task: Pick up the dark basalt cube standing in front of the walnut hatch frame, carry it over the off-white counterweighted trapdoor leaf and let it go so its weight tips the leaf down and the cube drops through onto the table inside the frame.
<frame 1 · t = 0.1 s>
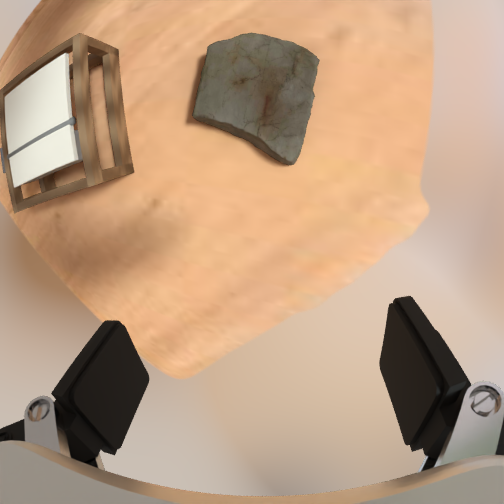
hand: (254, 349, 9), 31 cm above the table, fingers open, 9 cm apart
walnut hatch frame: (78, 125, 35), on the table
hatch leaf: (43, 122, 27), point 9 cm above the table, hinge at 0.0°
marble piece: (255, 96, 33), on the table
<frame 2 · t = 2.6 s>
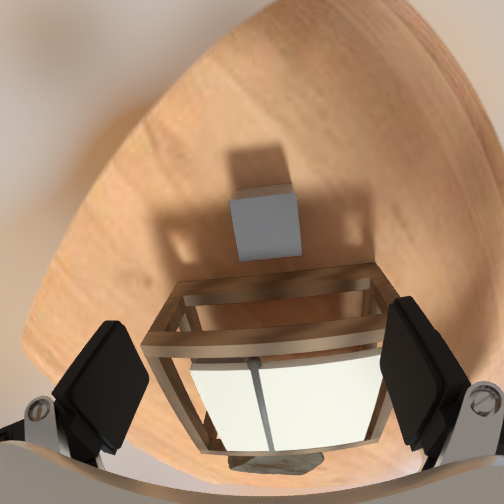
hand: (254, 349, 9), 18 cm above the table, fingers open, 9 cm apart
basalt block: (267, 212, 26), on the table
walnut hatch frame: (283, 342, 31), on the table
hatch leaf: (292, 398, 23), point 9 cm above the table, hinge at 0.0°
marble piece: (277, 447, 43), on the table
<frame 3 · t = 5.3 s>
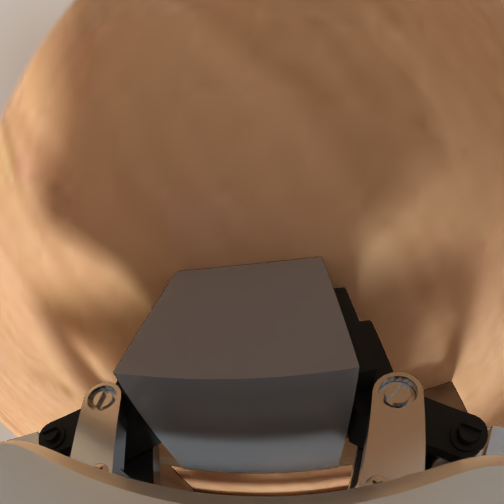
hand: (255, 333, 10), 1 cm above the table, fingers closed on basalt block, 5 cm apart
basalt block: (256, 324, 10), on the table, touching gripper
walnut hatch frame: (283, 473, 16), on the table
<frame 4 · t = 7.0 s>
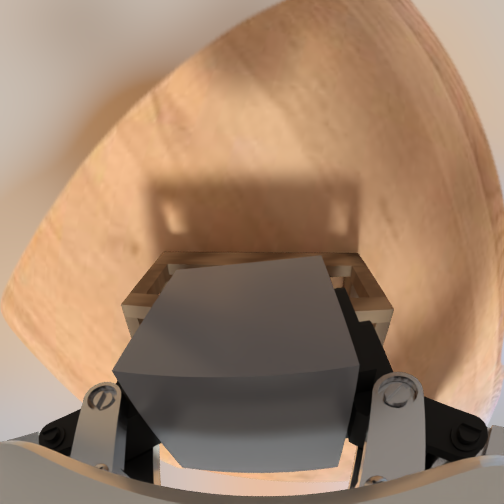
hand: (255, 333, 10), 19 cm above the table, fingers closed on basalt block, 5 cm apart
basalt block: (256, 323, 10), point 18 cm above the table, touching gripper
walnut hatch frame: (260, 323, 33), on the table
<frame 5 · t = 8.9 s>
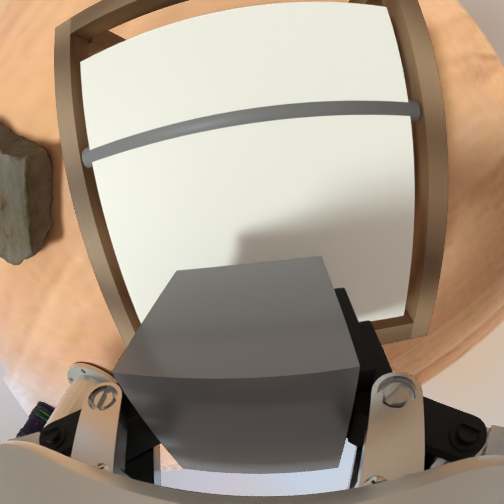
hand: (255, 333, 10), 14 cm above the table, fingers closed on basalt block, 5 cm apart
basalt block: (256, 323, 10), point 13 cm above the table, touching gripper
storage jar: (53, 414, 45), on the table
walnut hatch frame: (259, 150, 20), on the table
hatch leaf: (253, 172, 13), point 9 cm above the table, hinge at 0.0°
marble piece: (18, 186, 23), on the table
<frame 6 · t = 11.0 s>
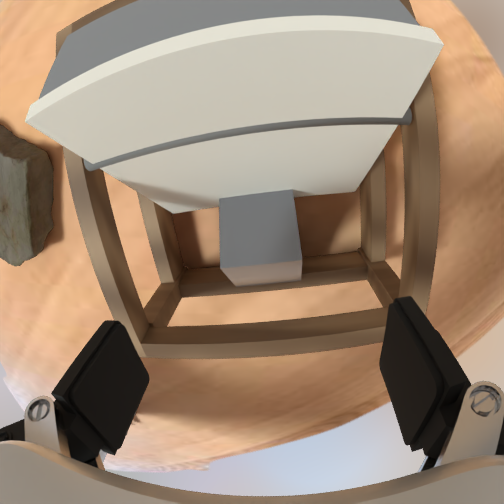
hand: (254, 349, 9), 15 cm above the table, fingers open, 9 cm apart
basalt block: (260, 211, 21), point 2 cm above the table, tilted 47°, touching hatch leaf
walnut hatch frame: (256, 153, 21), on the table
hatch leaf: (243, 118, 13), point 7 cm above the table, hinge at -60.7°, touching basalt block
marble piece: (18, 188, 24), on the table
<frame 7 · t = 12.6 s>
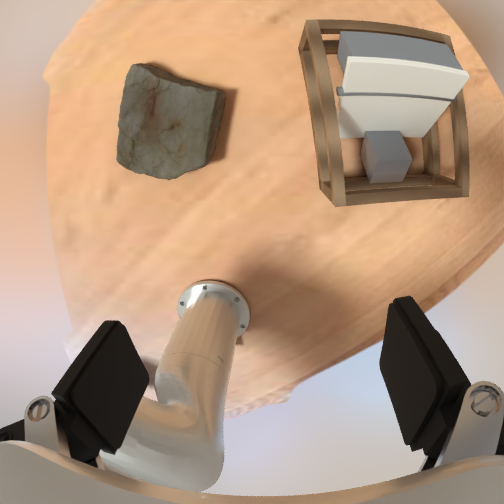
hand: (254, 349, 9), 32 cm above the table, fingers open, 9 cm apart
basalt block: (379, 142, 33), point 2 cm above the table, tilted 47°, touching hatch leaf
walnut hatch frame: (373, 113, 33), on the table
hatch leaf: (390, 91, 25), point 7 cm above the table, hinge at -60.7°, touching basalt block
marble piece: (172, 119, 36), on the table
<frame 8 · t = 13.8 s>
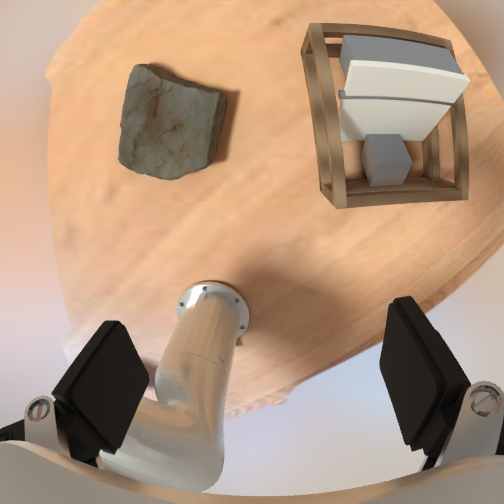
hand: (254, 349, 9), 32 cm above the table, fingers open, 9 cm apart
basalt block: (379, 146, 33), point 2 cm above the table, tilted 47°, touching walnut hatch frame
walnut hatch frame: (373, 116, 33), on the table
hatch leaf: (392, 95, 26), point 7 cm above the table, hinge at -60.7°
marble piece: (174, 120, 36), on the table
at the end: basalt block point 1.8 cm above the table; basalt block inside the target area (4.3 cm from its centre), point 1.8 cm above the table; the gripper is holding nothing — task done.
